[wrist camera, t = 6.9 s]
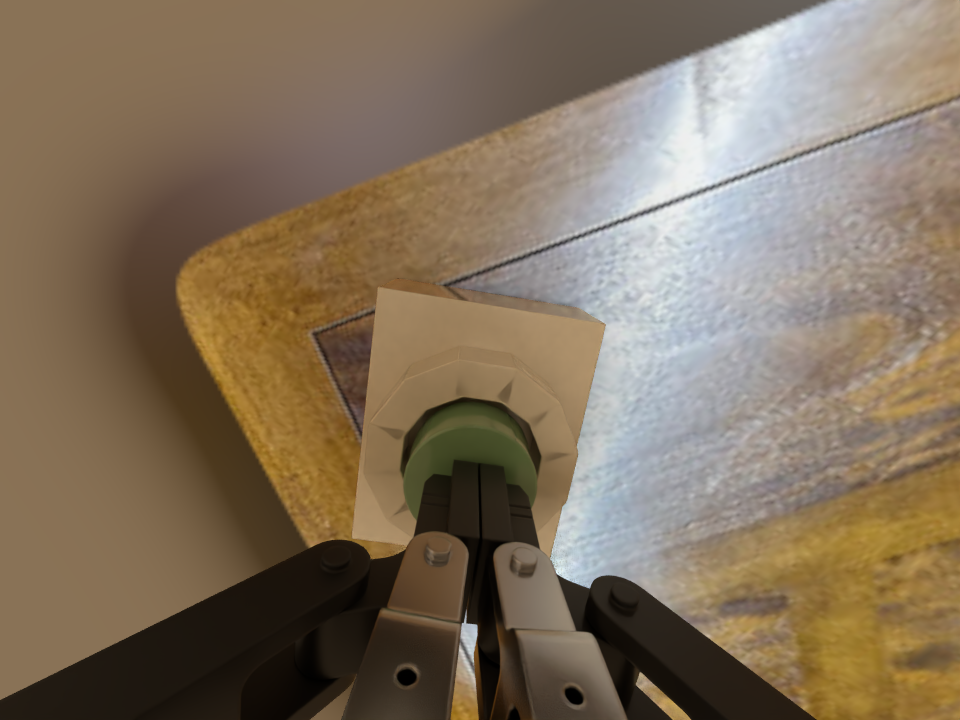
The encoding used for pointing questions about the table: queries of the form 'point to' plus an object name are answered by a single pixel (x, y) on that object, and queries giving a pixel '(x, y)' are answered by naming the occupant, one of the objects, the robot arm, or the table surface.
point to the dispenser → (471, 390)
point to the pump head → (468, 448)
